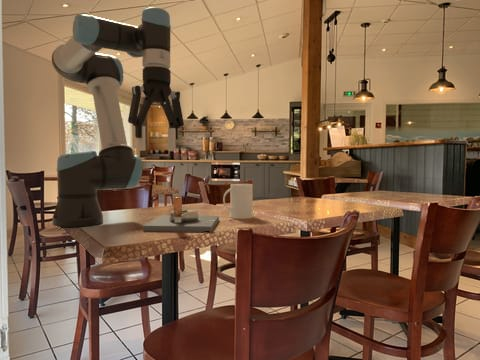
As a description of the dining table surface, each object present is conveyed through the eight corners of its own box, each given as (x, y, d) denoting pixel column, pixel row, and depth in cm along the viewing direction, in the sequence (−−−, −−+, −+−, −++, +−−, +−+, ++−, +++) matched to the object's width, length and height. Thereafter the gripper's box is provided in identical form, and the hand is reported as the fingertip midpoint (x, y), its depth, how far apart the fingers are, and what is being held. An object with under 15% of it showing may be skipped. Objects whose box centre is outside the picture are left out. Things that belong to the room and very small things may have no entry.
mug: (227, 220, 126) (227, 185, 126) (217, 216, 134) (217, 184, 133) (257, 218, 132) (257, 184, 131) (246, 214, 139) (246, 183, 139)
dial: (173, 216, 121) (173, 192, 121) (200, 217, 121) (200, 193, 120) (161, 225, 107) (161, 197, 106) (192, 225, 106) (192, 198, 106)
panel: (143, 231, 107) (143, 225, 107) (161, 219, 127) (161, 214, 127) (211, 232, 106) (211, 226, 106) (218, 220, 126) (218, 215, 126)
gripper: (125, 58, 91) (126, 150, 92) (196, 72, 105) (196, 151, 107) (113, 64, 96) (114, 150, 98) (182, 76, 111) (182, 151, 112)
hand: (157, 150), depth 102 cm, fingers open, 9 cm apart
